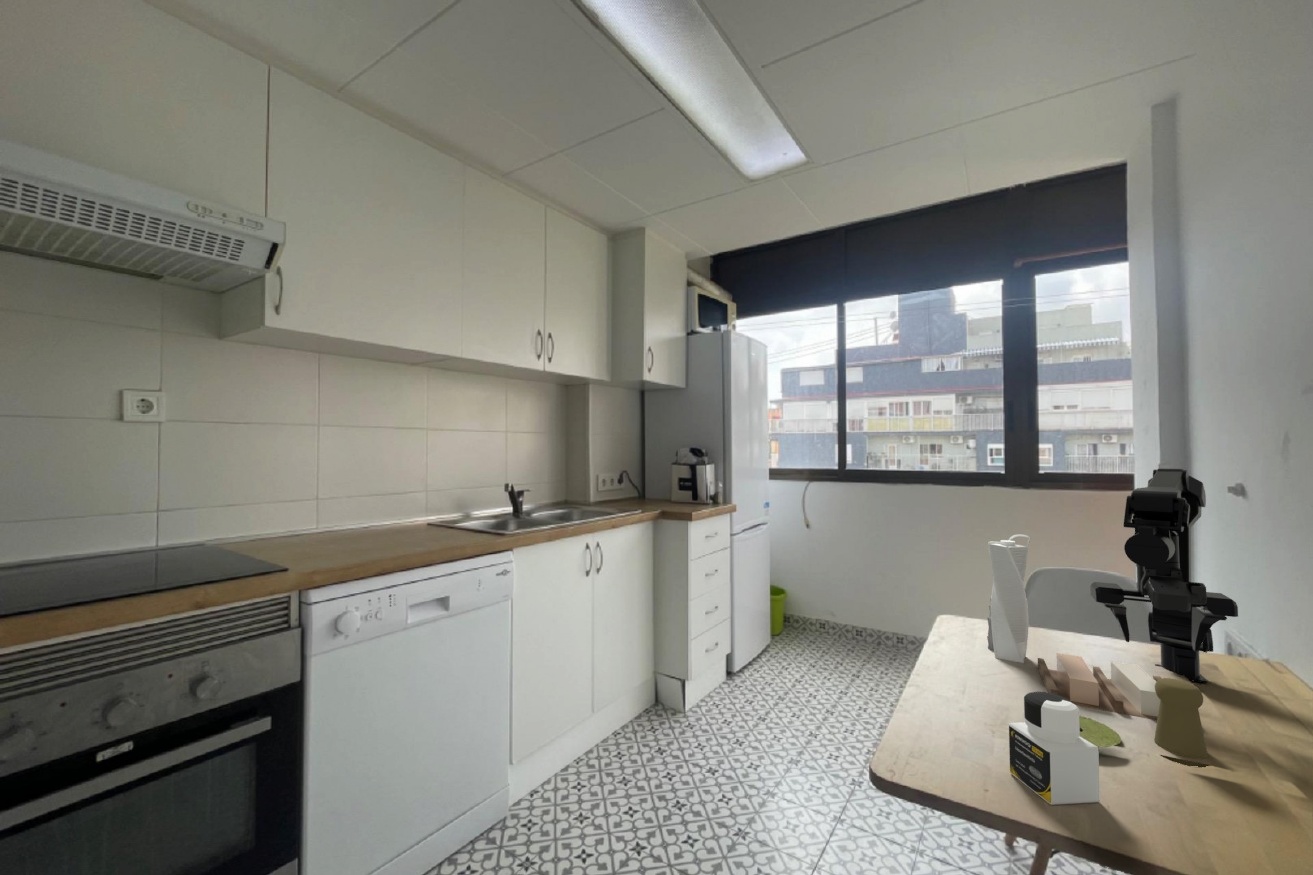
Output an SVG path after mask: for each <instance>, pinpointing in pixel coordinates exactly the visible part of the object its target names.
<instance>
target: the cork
mask: <svg viewBox="0 0 1313 875" xmlns="http://www.w3.org/2000/svg"><path fill="white" fill-rule="evenodd" d="M1161 678H1162V677H1161ZM1155 691H1156V694H1157V696H1158V698H1159V699H1160V705H1159V711H1158V718H1157V720H1156V725H1155V726H1156V727H1155V732H1154V740H1153V741H1154V743H1155V745H1157V746H1158V747H1159V748H1161V749H1163V750H1165V751H1166V752H1169V753H1173V754H1174V755H1177V756H1181V757H1185V758H1189V759H1190V758H1191V759H1198V760H1199V759H1200V760H1201V759H1207V757H1208V756H1209V755H1208V750H1207V749H1208V748H1207V744H1206V741H1205V740H1206V739H1205V736H1204V730H1203V725H1202V721H1201V716H1200V712H1199V711H1200V710H1199V708H1201V707H1202V706H1203V703H1204V696H1203V693H1202V691H1201V690H1200V689H1199V687H1198V686H1196V685H1195V684H1193V683H1191V682H1188V681H1185V680H1181V679H1177V678H1171V677H1163V678H1162V679H1159V680H1158V681H1157V682H1156V684H1155ZM1159 756H1160V757H1161V758H1162V757H1163V758H1164V759H1166V760H1168V761H1171V762H1173V763H1176V762H1177V763H1176V764H1179V763H1180V765H1184V766H1186V765H1187V767H1191V766H1198V767H1197V768H1202V767H1204V768H1207V767H1206V766H1208V767H1209V766H1210V764H1207V763H1201V762H1197V761H1192V760H1188V759H1182V758H1178V757H1173V756H1169V755H1168V756H1167V755H1163V754H1159Z"/></svg>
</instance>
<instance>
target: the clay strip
mask: <svg viewBox="0 0 1313 875" xmlns="http://www.w3.org/2000/svg"><path fill="white" fill-rule="evenodd" d="M1110 679H1111V682H1112V683H1113V685H1114V686H1115V687H1116V688H1117V689H1118V690H1119V691H1120V692H1121V693H1122V694H1123V695H1124V696H1125V697H1126V698H1127V699H1128V701H1129V702H1130V703H1131V704H1132V705H1133V706H1134V707H1135V708H1136V709H1137V710H1138V711H1139V712H1140V713H1141V714H1144V715H1151V716H1157V717H1158V711H1159V705H1160V699H1159V698H1158V696H1157V694H1156V691H1155V684H1156V681H1155V680H1154V679H1153V676H1151V675H1149V674H1148V672H1146V671H1145V670H1144V669H1143V668H1142V667H1140V666H1139V665H1138V664H1136V663H1135V664H1133V663H1126V662H1117V661H1110Z"/></svg>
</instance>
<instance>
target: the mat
mask: <svg viewBox="0 0 1313 875" xmlns="http://www.w3.org/2000/svg"><path fill="white" fill-rule="evenodd" d="M1079 726H1080V737H1082V738H1083V739H1085V740H1087V741H1088V742H1090V743H1092V744H1093V745H1095V746H1097V747H1098V748H1099V747H1102V748H1104V747H1105V748H1109V747H1114V746H1116V745H1119V744H1121V742H1122V737H1121V736H1120V735H1119V733H1118V732H1117V731H1115V730H1114V729H1113V728H1111V727H1109V726H1108V725H1106V724H1105V723H1101V722H1100V721H1098V720H1097V721H1096V720H1095V719H1092V718H1088V717H1086V716H1084V715H1083V716H1082V715H1080V714H1079Z"/></svg>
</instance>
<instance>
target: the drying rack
mask: <svg viewBox="0 0 1313 875" xmlns="http://www.w3.org/2000/svg"><path fill="white" fill-rule="evenodd" d="M1037 670H1038V672H1039V674H1040V677H1041V679H1042V681H1043V684H1044V687H1045V689H1046V692H1048V693H1053V694H1056V695H1059V696H1062V697H1064V698H1066V699H1068V700H1070V699H1069V697H1068V695H1067V693H1066V691H1065V689H1064V686H1063V684H1062V682H1061V680H1060V678H1059V676H1058V674H1057V669H1049V668H1048V666H1047V663H1046V661H1045V658H1041V657H1037ZM1092 674H1093V675H1094V677H1095V678H1096V680H1097V682H1098V690H1099V706H1096V705H1091V704H1085V703H1080V702H1074V701H1072V702H1073V703H1074V704H1075V705H1076V706H1077V707H1084V708H1089V709H1095V710H1100V711H1105V712H1112V713H1117V714H1122V715H1126V716H1127V715H1128V716H1131V717H1132V716H1133V717H1138V718H1144V719H1149V720H1154V721H1155V720H1156V721H1157V718H1158V717H1157V716H1151V715H1144V714H1141V713H1140V712H1139V711H1138V710H1137V709H1136V708H1135V707H1134V706H1133V705H1132V704H1131V703H1130V702H1129V701H1128V699H1127V698H1126V697H1125V696H1124V695H1123V694H1122V693H1121V692H1120V691H1119V690H1118V689H1117V688H1116V687H1115V686H1114V685H1113V683H1112V682H1111V678H1108V677H1107V676H1106V675H1105V673H1104V672H1103V670H1102V669H1101V667H1099V666H1093V665H1092ZM1152 678H1153V679H1154V680H1155V681H1156V682H1157V681H1158V680H1159V679H1162V677H1161V676H1158V675H1152Z"/></svg>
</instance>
